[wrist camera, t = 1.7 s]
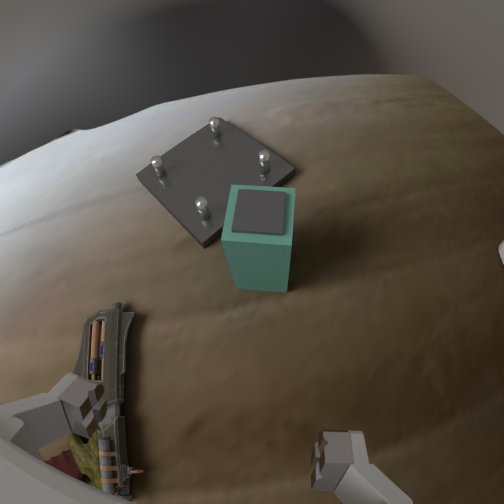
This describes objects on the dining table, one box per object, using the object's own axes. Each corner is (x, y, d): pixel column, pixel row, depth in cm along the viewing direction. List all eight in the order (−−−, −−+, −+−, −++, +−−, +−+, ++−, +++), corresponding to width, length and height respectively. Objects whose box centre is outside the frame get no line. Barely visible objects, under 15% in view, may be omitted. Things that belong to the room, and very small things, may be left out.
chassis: (220, 123, 43) (216, 103, 39) (294, 174, 37) (296, 153, 34) (139, 180, 39) (129, 162, 36) (204, 248, 34) (196, 231, 31)
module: (242, 243, 34) (230, 181, 25) (290, 247, 33) (295, 185, 24) (236, 288, 32) (220, 237, 22) (286, 292, 31) (291, 242, 22)
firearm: (28, 490, 20) (137, 527, 18) (29, 305, 30) (128, 293, 29) (51, 488, 23) (158, 516, 21) (51, 316, 34) (148, 307, 32)
